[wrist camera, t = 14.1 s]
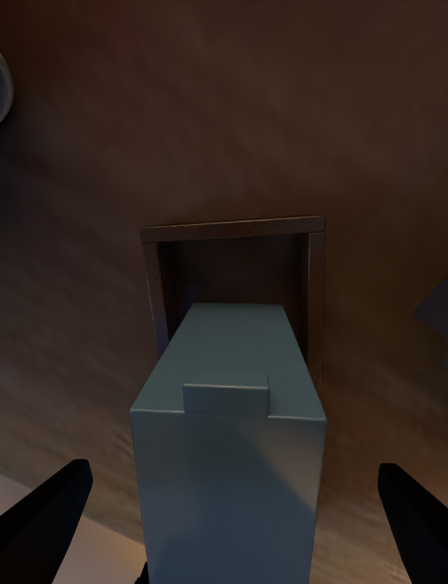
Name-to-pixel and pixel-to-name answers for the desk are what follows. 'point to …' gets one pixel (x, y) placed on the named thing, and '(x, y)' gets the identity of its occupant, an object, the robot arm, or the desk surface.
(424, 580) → the robot arm
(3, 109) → the ceramic mug
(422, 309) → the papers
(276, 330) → the tabbed grey block
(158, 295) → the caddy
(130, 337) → the desk surface
